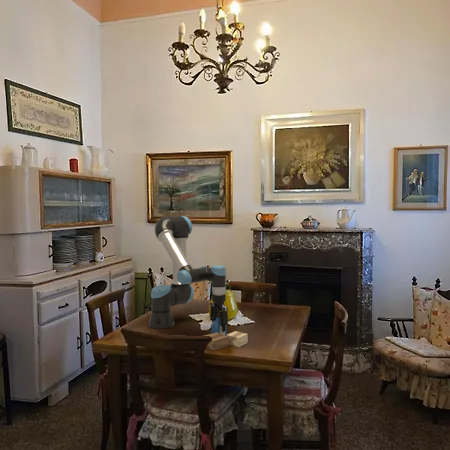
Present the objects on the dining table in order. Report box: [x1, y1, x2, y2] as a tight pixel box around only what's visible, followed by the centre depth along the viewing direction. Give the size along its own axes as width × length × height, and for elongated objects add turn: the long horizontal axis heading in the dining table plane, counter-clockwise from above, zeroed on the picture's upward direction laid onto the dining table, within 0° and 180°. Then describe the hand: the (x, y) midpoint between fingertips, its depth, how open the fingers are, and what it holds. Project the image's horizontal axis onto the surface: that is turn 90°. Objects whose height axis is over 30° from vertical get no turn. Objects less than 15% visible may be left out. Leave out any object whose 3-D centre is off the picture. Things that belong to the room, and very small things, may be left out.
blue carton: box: [210, 313, 228, 336], centre depth 235 cm, size 6×6×12 cm
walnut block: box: [203, 332, 230, 351], centre depth 221 cm, size 10×10×5 cm
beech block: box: [226, 330, 249, 348], centre depth 224 cm, size 8×8×5 cm
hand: (218, 335), depth 236 cm, fingers closed on blue carton, 6 cm apart
